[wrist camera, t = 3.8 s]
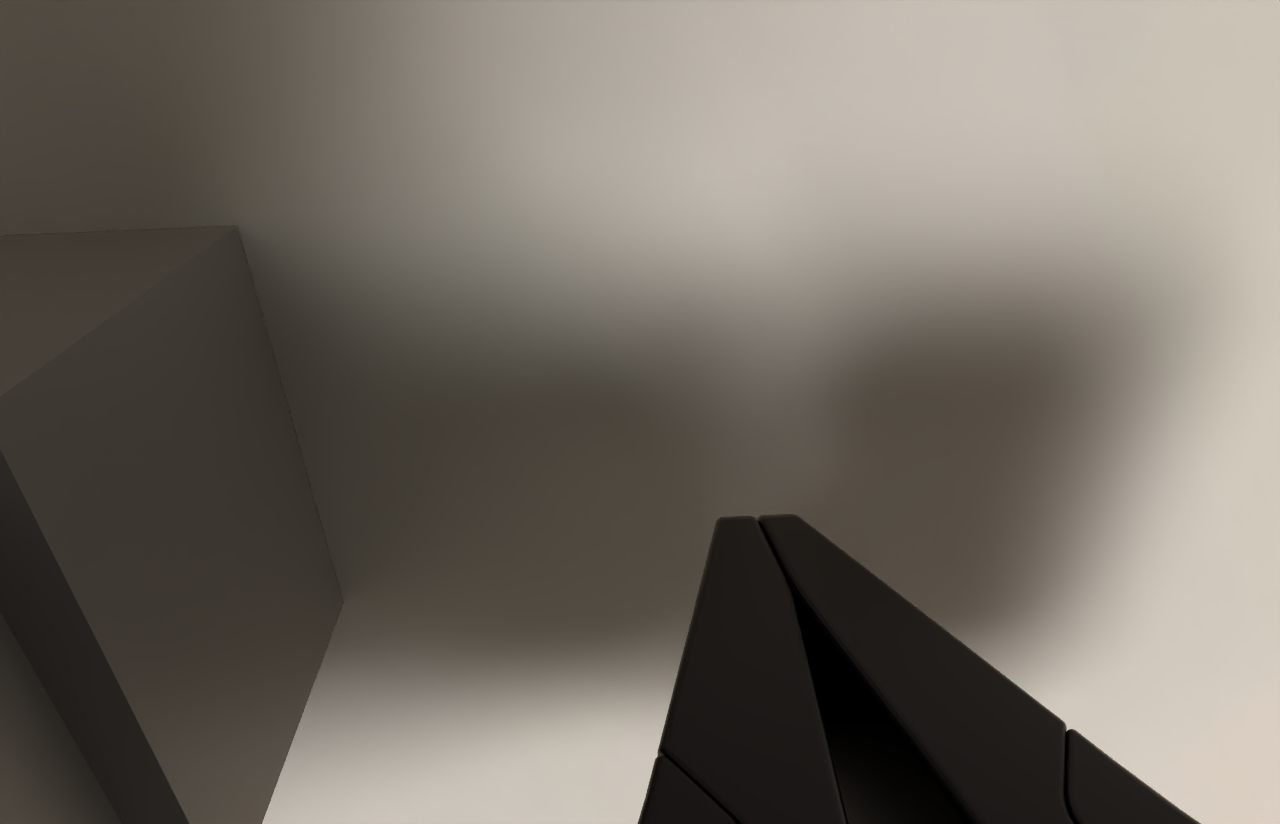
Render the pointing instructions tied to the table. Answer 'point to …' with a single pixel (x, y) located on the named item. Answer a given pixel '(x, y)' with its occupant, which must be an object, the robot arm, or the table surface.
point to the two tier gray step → (149, 535)
